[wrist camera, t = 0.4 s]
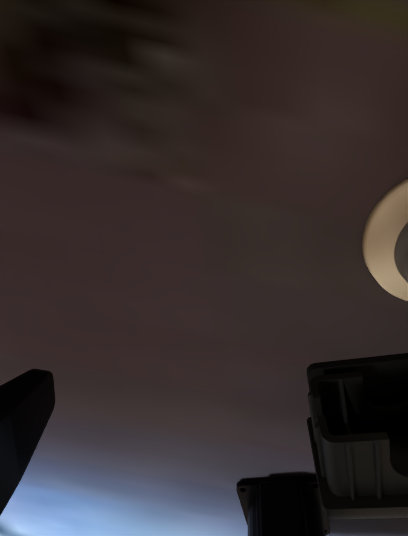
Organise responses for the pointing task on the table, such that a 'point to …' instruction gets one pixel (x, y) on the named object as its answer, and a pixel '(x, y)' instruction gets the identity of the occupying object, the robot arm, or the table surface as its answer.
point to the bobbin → (389, 241)
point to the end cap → (360, 436)
